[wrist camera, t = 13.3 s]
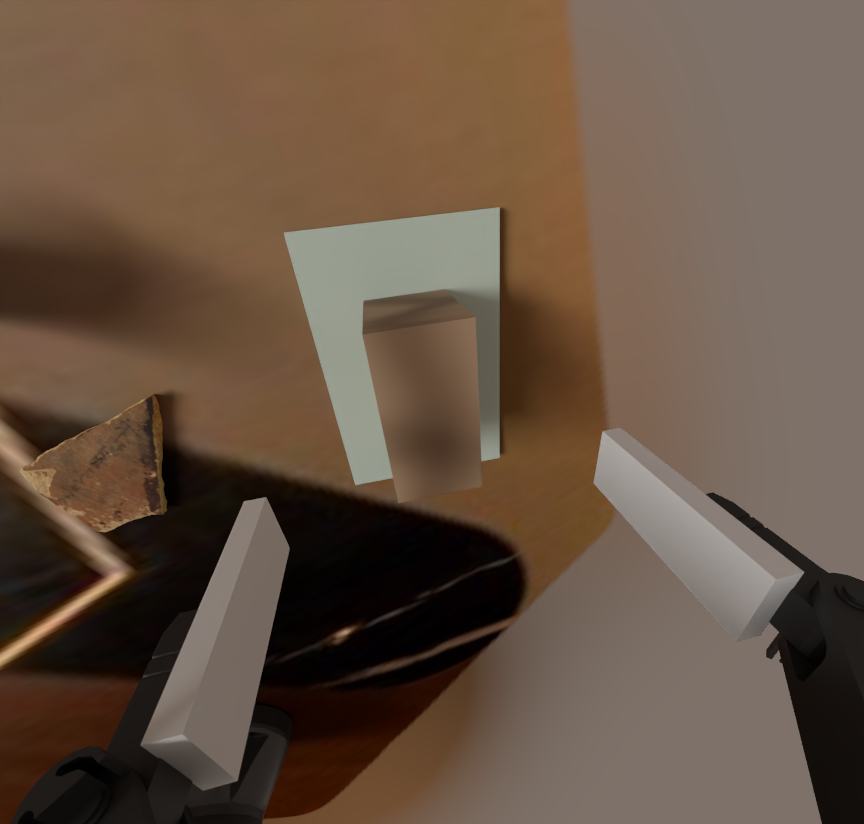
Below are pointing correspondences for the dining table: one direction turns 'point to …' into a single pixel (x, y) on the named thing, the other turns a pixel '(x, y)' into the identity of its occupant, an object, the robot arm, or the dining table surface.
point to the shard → (107, 469)
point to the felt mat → (386, 277)
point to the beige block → (426, 391)
